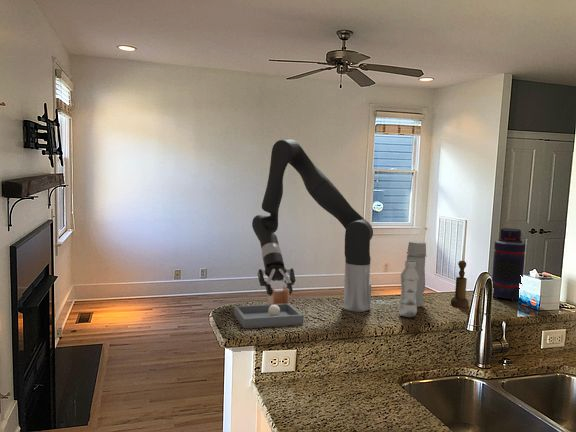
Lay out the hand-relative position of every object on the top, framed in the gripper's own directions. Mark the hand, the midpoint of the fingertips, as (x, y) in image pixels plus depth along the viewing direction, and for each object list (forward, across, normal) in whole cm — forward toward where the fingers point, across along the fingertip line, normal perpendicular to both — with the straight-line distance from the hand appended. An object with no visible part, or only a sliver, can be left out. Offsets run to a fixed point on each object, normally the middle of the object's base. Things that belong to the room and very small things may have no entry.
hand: (280, 294), depth 169 cm
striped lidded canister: (+6, +102, +2) cm, 102 cm away
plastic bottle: (+17, +42, -9) cm, 46 cm away
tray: (+12, -8, -4) cm, 15 cm away
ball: (+10, -6, -6) cm, 13 cm away
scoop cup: (+3, 0, +5) cm, 6 cm away
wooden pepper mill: (+11, +72, -3) cm, 73 cm away
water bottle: (+8, +54, 0) cm, 55 cm away
